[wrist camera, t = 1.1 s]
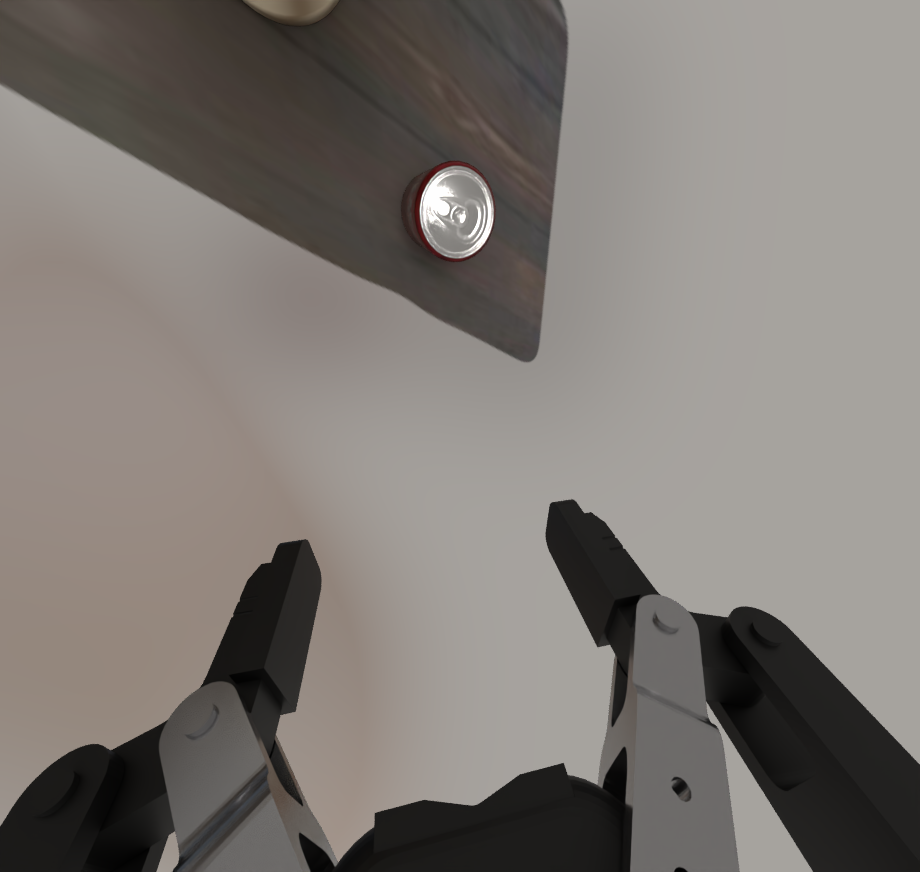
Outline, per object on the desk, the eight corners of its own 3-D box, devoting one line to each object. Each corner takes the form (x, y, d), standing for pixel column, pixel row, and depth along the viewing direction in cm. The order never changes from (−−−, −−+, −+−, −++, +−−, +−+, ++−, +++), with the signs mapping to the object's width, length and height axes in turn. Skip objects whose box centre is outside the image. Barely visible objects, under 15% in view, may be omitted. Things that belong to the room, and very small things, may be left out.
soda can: (473, 195, 37) (513, 192, 28) (447, 260, 40) (474, 277, 31) (414, 156, 34) (436, 137, 25) (391, 230, 37) (402, 238, 28)
